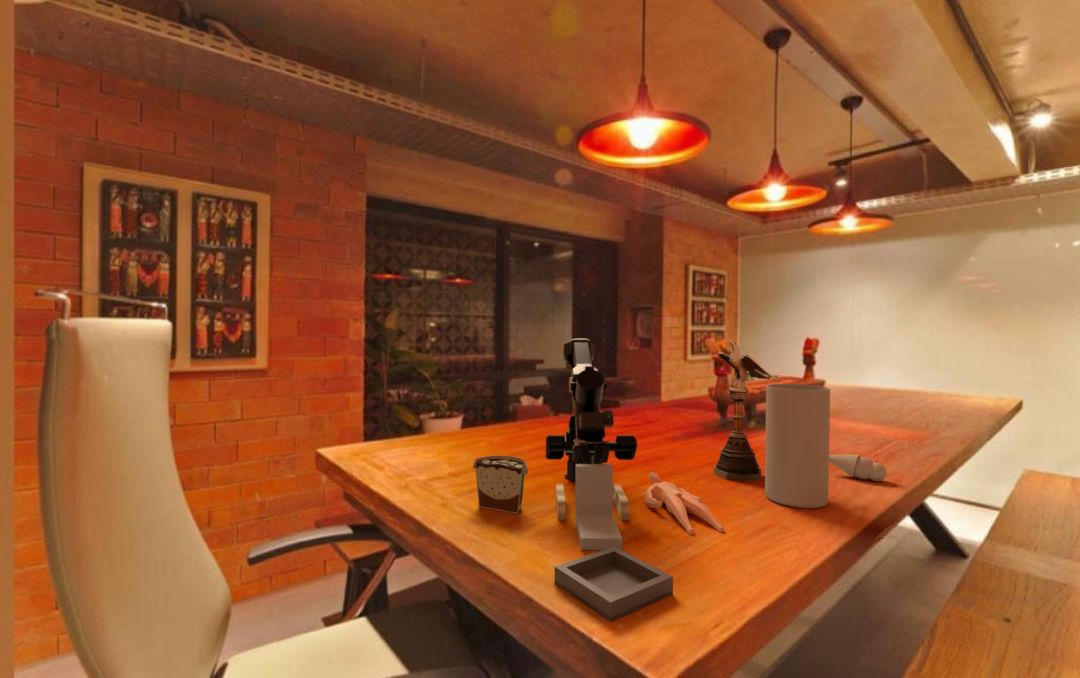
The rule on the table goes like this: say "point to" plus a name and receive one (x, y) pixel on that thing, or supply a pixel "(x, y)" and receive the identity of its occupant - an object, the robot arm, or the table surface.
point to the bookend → (595, 507)
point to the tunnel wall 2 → (621, 502)
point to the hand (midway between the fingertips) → (593, 484)
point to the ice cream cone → (859, 466)
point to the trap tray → (613, 582)
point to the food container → (500, 482)
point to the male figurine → (678, 503)
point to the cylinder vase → (797, 445)
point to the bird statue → (740, 421)
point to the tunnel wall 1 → (560, 502)
